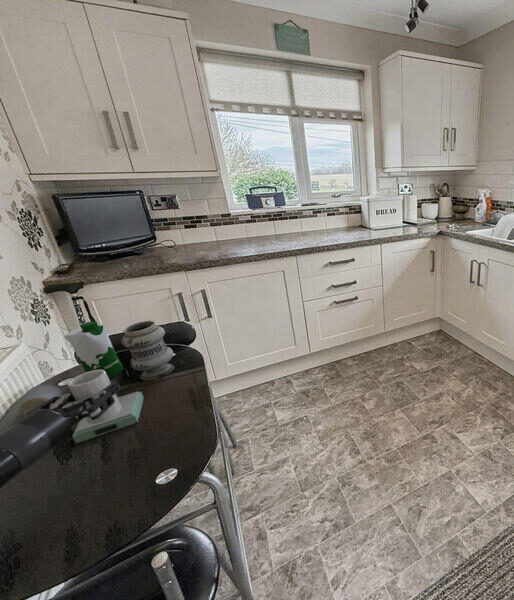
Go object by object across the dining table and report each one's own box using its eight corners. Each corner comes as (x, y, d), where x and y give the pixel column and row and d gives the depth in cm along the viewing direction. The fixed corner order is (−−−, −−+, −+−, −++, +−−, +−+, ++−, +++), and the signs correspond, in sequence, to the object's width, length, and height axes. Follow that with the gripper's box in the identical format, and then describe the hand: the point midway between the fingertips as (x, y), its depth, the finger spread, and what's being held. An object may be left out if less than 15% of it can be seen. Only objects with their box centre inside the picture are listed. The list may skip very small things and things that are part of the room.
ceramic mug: (25, 425, 92) (12, 403, 89) (32, 411, 98) (20, 389, 95) (75, 409, 98) (64, 387, 95) (79, 396, 104) (69, 375, 101)
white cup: (83, 427, 71) (63, 389, 67) (91, 412, 76) (72, 375, 72) (119, 416, 74) (101, 379, 70) (124, 401, 79) (107, 366, 75)
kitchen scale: (75, 444, 83) (70, 435, 82) (89, 415, 94) (85, 406, 93) (137, 423, 89) (133, 414, 88) (143, 397, 100) (140, 389, 99)
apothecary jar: (143, 386, 106) (122, 337, 100) (132, 375, 113) (111, 329, 107) (183, 368, 115) (166, 322, 108) (170, 359, 122) (154, 315, 115)
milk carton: (107, 382, 110) (82, 329, 103) (82, 383, 111) (55, 330, 104) (128, 367, 119) (106, 317, 111) (105, 368, 119) (82, 319, 112)
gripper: (56, 422, 58) (127, 369, 74) (-24, 428, 58) (65, 374, 74) (74, 454, 61) (139, 397, 76) (-2, 459, 61) (79, 401, 76)
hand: (102, 386), depth 75 cm, fingers closed on white cup, 6 cm apart
